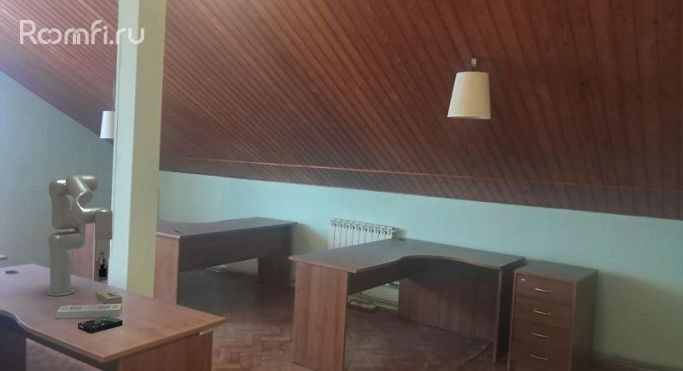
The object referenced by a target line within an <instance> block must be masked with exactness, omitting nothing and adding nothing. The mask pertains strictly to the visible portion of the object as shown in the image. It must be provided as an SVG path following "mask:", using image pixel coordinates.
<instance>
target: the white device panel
mask: <svg viewBox="0 0 683 371" xmlns="http://www.w3.org/2000/svg"><path fill="white" fill-rule="evenodd" d="M122 304H123V303H122ZM122 304H104V303H102V304H76V305H75V304H73V305H60V307H59V308H58V309H57V311H56V318H55V319H58V320H59V319H85V318H103V317H109V316H111V317H113V318H114V317H120V315H121V312H122V309H123V308H122V306H123V305H122Z"/></svg>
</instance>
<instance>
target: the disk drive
mask: <svg viewBox="0 0 683 371" xmlns="http://www.w3.org/2000/svg"><path fill="white" fill-rule="evenodd" d="M123 323H124V322H123V320H122V319H120V318H116V317H114V316H113V317H111V316H109V317H97V318H96V319H91V320H87V321H86V320H85V321H82V322H78V323H77V329H78V330H81V331H84V332H85V333H88V334H95V333H99V332H102V331H107V330H110V329H114V328H118V327H122V326H123Z"/></svg>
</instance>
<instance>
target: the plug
mask: <svg viewBox="0 0 683 371" xmlns="http://www.w3.org/2000/svg"><path fill="white" fill-rule="evenodd" d="M108 265H109V261H108V262H106V268H107V276H106V277H99V276H98V281H101V282H102V281H103V282H104V281H108V278H109V277H108V276H109V275H108V274H109V266H108Z"/></svg>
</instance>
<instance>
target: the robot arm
mask: <svg viewBox="0 0 683 371" xmlns="http://www.w3.org/2000/svg"><path fill="white" fill-rule="evenodd" d="M98 187H99V181H98V179H97V177H96V176H94V175H92V174H72V175H69V176H68V177H66V178H55V179H52V180H50V182H49V184H48V194H49V197H50V201H51V226H52V228H53V229H55V230H68V231H56V232H52V233H51V234H50V235H49V236H48V238H47V244H48V250H49V289H48V290H47V291H46V295H47V296H50V297H51V296H52V297H61V296H68V295H71V294H74V293H75V289H74V288H72V285H71V284H72V283H71V280H72V279H71V278H72V269H71V268H72V266H71V264H72V263H71V262H72V258H71V256H70V255H69V254H68V253H67V251H71V250H80V249H82V248H83V247H84V246H85V245H86V238H87V237H86V234H87V232H86V230H87V228H86V227H87V225H89V224H90V225H91V224H94V240H95V241H96V244H95V245H96V246H95V262H96V263H98V278H99V277H106V276H107V268H106V262H108V263H109V261H108V260H109V259H110V251H111V249H110V248H111V246H110V245H111V243H110V242H111V241H110V240H113V215H114V214H113V210H112V209H109V208H106V207H104V206H92V207H91V206H90V207H83V206H86V205H88V204H89V203H91V202H92V200H93V199H94V192H96V191H97V190H98ZM68 196H71V197H72V198H73V200H72V202H71V200H70V199H69V197H68Z"/></svg>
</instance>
